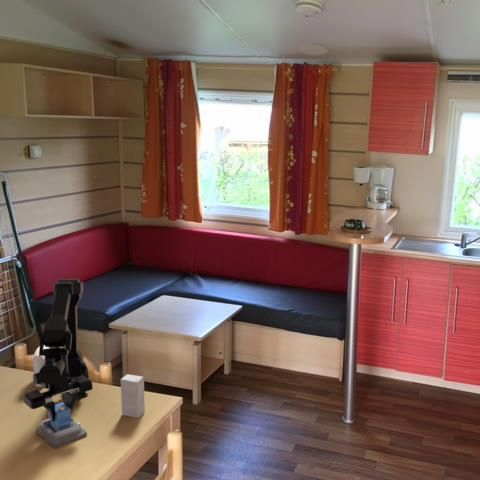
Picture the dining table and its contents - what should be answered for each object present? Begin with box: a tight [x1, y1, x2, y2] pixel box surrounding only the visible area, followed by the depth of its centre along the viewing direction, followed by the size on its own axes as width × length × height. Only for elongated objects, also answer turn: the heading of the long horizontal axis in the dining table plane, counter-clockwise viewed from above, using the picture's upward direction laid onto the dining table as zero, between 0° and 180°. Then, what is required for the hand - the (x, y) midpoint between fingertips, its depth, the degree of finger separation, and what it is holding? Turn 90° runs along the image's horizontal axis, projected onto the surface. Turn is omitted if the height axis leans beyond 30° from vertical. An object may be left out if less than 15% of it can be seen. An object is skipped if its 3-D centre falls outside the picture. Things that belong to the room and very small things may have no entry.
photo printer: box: [32, 344, 51, 388], centre depth 205 cm, size 10×4×12 cm, turn 5°
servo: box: [47, 402, 74, 430], centre depth 172 cm, size 4×8×7 cm, turn 43°
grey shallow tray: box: [35, 417, 88, 449], centre depth 173 cm, size 10×12×4 cm
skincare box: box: [120, 373, 146, 419], centre depth 184 cm, size 6×4×12 cm
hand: (60, 418), depth 172 cm, fingers closed on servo, 4 cm apart
